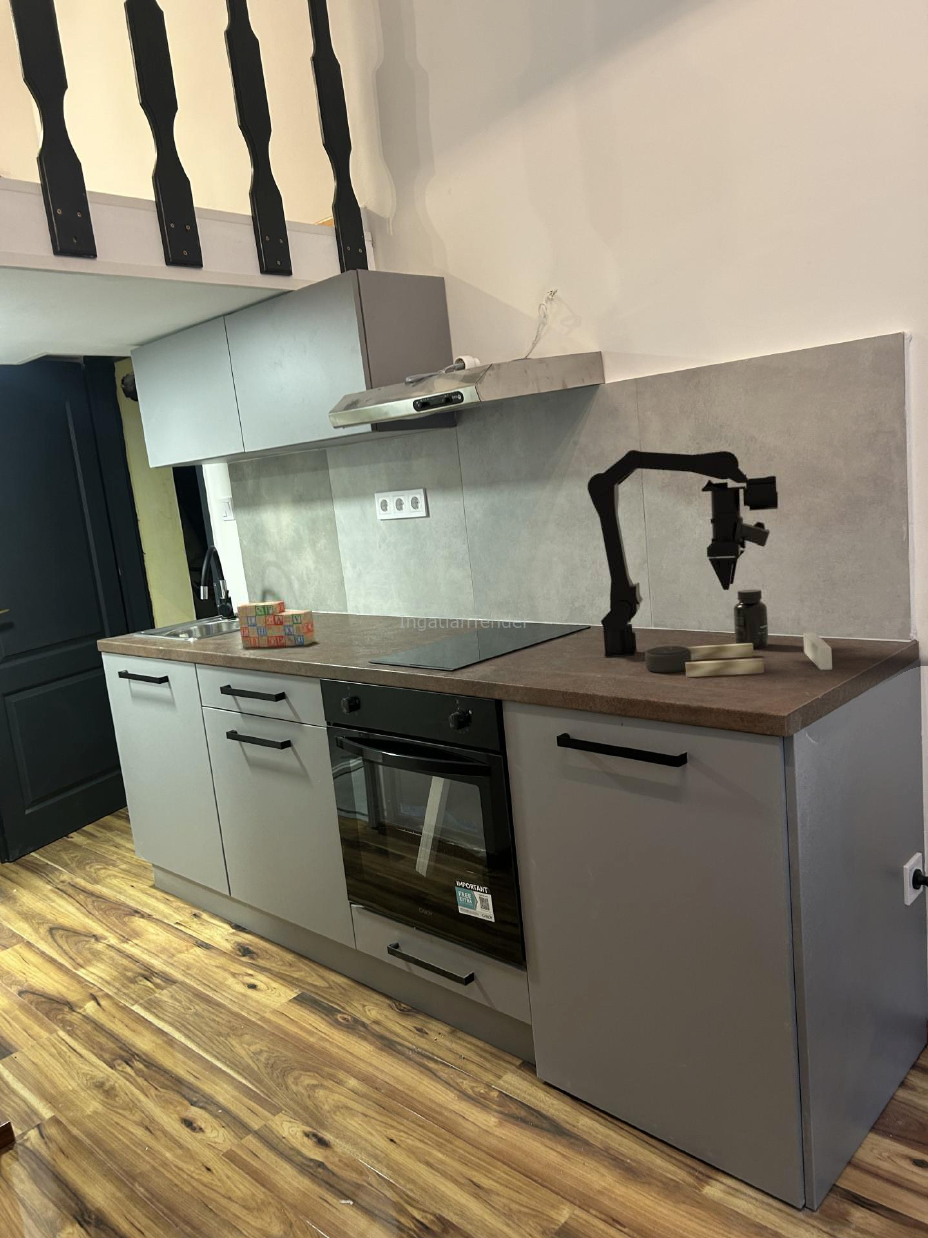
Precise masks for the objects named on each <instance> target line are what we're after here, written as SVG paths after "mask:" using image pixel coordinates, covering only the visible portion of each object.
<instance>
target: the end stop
mask: <svg viewBox="0 0 928 1238" xmlns="http://www.w3.org/2000/svg"><path fill="white" fill-rule="evenodd" d="M802 633H803V635H802V636H803V652H804V654H805V655H806V656H807V657H808V658H809V659H810V660H811V661H812V662H813V664H814V665H816V667H817V669H819V670H821V671H822V670H823V671H824V670H825V671H826V670H827V671H829V670H833V660H832V659H833V658H832V657H833V656H832V647H831V646H830V645H829V644H828V643H827V642H825V641H824V640H823V639H822V638H821V637H820V636H819V635H818V634H816V633H815V632H814V631H808V632H802Z"/></svg>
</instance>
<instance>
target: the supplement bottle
mask: <svg viewBox="0 0 928 1238" xmlns="http://www.w3.org/2000/svg"><path fill="white" fill-rule="evenodd" d="M736 598H737V600H738V603H736V604H735V605H734V606H733V626H734V628H733V629H734V644H744V643H752V644H753V650H754V649H761V648H765V647H767V646H768V645H769V630H768V628H769V627H768V625H769V624H768V607H767V605H766V603H764V602H762V600H763V596H762V590H761V589H743V590H738V591H737V597H736Z"/></svg>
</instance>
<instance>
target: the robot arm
mask: <svg viewBox="0 0 928 1238" xmlns="http://www.w3.org/2000/svg"><path fill="white" fill-rule="evenodd" d="M739 462H740V461H739V459H738V457H737V456H736V455H735V454H734V453H733V452H730V451H726V450H720V451H714V452H711V451H710V452H706V453H703V452H702V453H695V454H689V453H688V454H686V453H685V454H684V453H670V452H653V451H652V452H651V451H641V450H636V449H631V450H628V451H627V452H626V453H625V454H624V455H623V456H622V457H621V458H620V459H619V460H617V461H616V462H614V463H613V465H611V466H610V467H608V468H607V469H606V470H605V471H604V472H599V473H595V474H594V475H593V476H591V477H590V479H589V480H588V482H587V492H588V494H589V496H590V497H589V498H590V501H591V503H592V505H593V507H594V509H595V511H596V513H597V515H598V518H599V521H600V522H599V523H600V528H601V533H602V538H603V543H604V549H605V555H606V560H607V565H608V571H609V572H608V573H609V576H610V588H609V589H610V590H609V591H610V592H609V612H607V613H606V614H605V616H604V617H603V618H602V619H601V620H600V623H601V626H602V631H603V645H604V653H603V656H604V657H607V658H608V657H622V656H634V655H635V652H637V649H638V648H637V637H636V635H637V634H636V630H633V623H631V621H632V619H633V618H634V617H635V616H636V614H637V613H638V612H639V610H640V607H641V603H642V602H643V597H642V595H641V590H640V589H641V586H640V582H636V583H634V582H633V581H632V578H631V576H630V573H629V567H628V563H627V556H626V551H625V545H624V540H623V536H622V530H621V529H622V528H621V524H620V518H619V499H620V498H619V497H620V494H619V493H620V492H619V488H620V487H619V486H620V485H621V484H622V483H623V482H625V480H627V479H628V478H629V477H630V476H631V475H632V474H633V473H634V472H635V471H637V470H638V469H640V470H641V469H642V470H656V471H672V472H673V471H674V472H686V473H687V472H688V473H694V474H696V475H702V476H705V477H709V478H713V479H714V478H715V479H717V480H722V481H723V480H731V481H732V482H734V483H736V484H745V485H742V486H740V485H739V486H729V483H728V481H725V482H724V481H723V482H713V481H712V480H711V479H708V480H707V483H706V484H705V485H704V486H703V487H702V488H701V489H700V490H701V492H702V493H704V492H705V493H707V492H710V500H711V503H710V504H711V518H710V524H711V528H712V529H711V531H712V538H711V543H710V544H709V545H708V546H707V547H706V557H707V558H708V561H709V562H710V565H711V567H712V568H713V570H714V573H715V575H716V577H717V578H718V581H719V583H720V586H721V587H722V589H723V591H729V590H730V586H731V585H733V584H734V583H735V582H734V581H735V576H736V570H737V564H738V560H739V558H741V556H742V555H743V553H744V552H746V548H747V542H749V543H753V544H756V546H759V547H766V544H767V541H768V539H769V536H770V534H771V531H770V529H766V526H765V523H764V522H761V521H756V523H754V524H753V525H752V524H748V523H745V522H744V517H743V516H742V515H741V494H740V493H741V492H740V490H742V495H743V497H742V498H743V500H742V501H743V507H749V511H750V512H752V511H754V512H755V511H766V510H769V511H770V510H779V503H778V502H779V497H778V496H779V495H778V494H779V492H778V490H777V476H775V475H769V476H765V477H754V478H748V477H747V474H746V473H745V474H744V472H743V471H742V469H740V468H739V467H740V463H739Z"/></svg>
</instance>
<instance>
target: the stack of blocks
mask: <svg viewBox="0 0 928 1238" xmlns="http://www.w3.org/2000/svg"><path fill="white" fill-rule="evenodd" d="M236 608H237V616H238V626H239V631H240V636H241V645H242V648H259V647H260V648H261V647H265V648H266V647H288V646H293V647H294V646H305V645H308V644H312V643H314V642H316V636H315V627H314V618H313V617H314V616H313V610H312V609H311V610H310V609H309V610H286V608H285V602H284V600H281V601H267V602H254V603H253V602H251V603H246V604H242V605H239V606H236Z"/></svg>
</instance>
